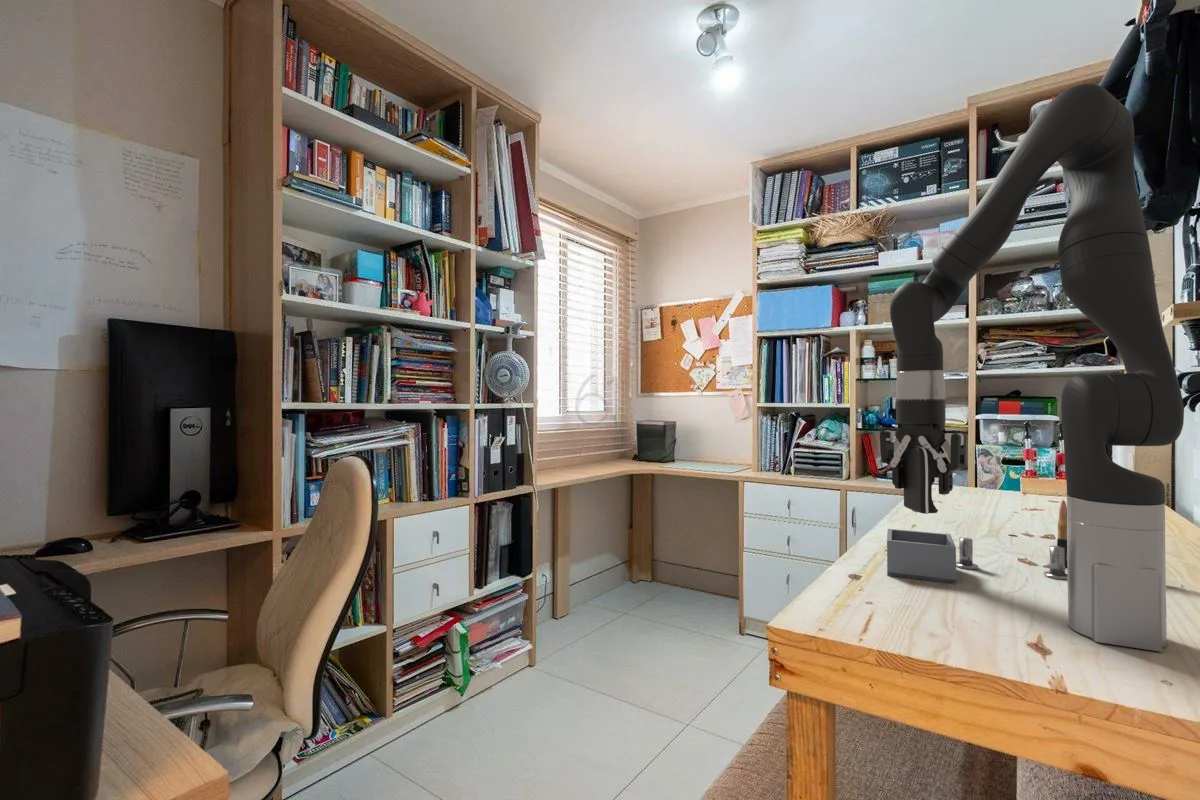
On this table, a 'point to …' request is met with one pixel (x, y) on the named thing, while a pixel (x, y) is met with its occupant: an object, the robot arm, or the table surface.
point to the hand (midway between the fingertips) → (921, 490)
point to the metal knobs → (1055, 572)
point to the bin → (921, 555)
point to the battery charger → (919, 479)
